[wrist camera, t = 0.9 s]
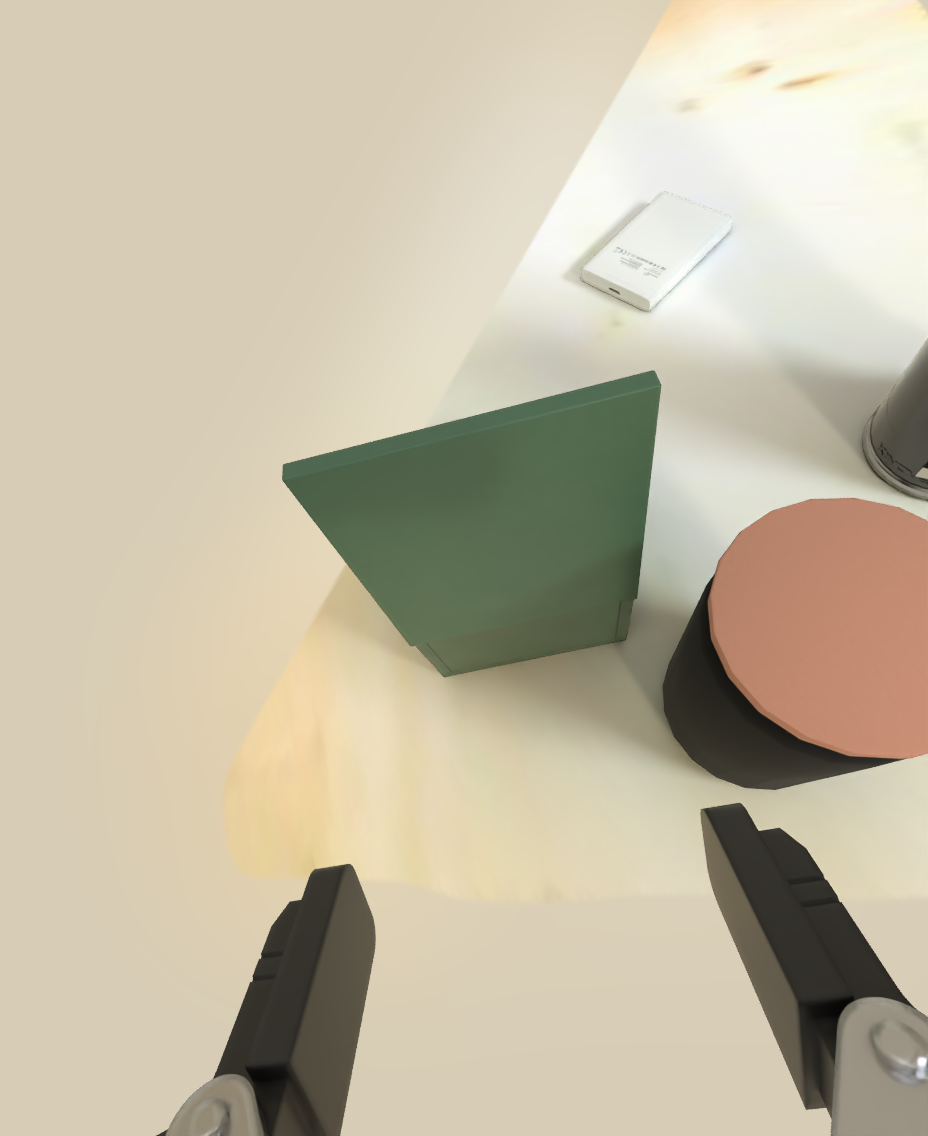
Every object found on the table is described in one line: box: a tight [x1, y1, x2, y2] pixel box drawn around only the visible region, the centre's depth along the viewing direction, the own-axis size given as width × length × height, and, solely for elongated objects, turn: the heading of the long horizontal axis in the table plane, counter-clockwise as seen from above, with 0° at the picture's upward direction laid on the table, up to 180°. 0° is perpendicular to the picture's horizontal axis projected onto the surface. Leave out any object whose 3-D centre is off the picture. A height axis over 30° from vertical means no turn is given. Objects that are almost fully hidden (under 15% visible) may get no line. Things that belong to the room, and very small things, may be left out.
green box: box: [415, 599, 634, 677], centre depth 42 cm, size 16×14×9 cm
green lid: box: [282, 371, 661, 646], centre depth 27 cm, size 16×14×1 cm
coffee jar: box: [663, 498, 928, 790], centre depth 31 cm, size 11×11×18 cm
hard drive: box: [580, 192, 734, 311], centre depth 56 cm, size 2×8×12 cm
